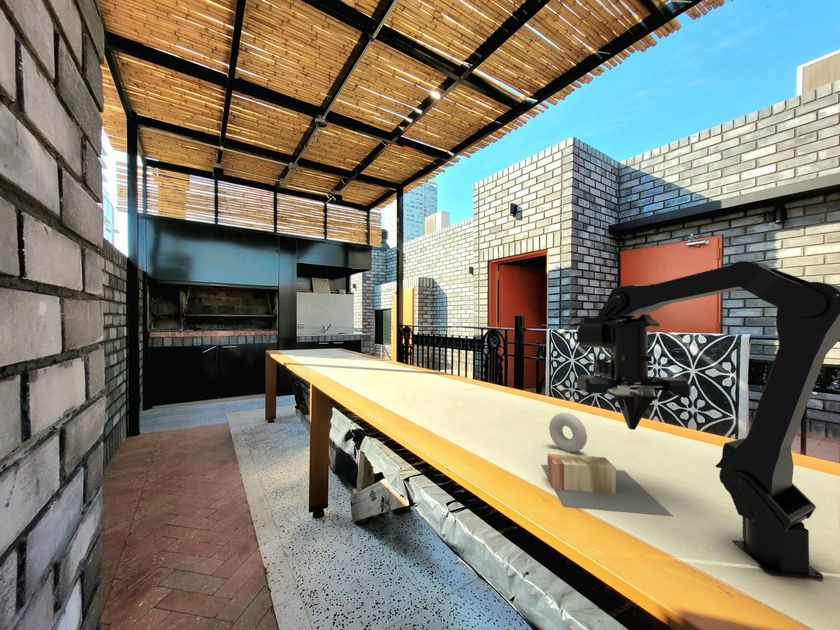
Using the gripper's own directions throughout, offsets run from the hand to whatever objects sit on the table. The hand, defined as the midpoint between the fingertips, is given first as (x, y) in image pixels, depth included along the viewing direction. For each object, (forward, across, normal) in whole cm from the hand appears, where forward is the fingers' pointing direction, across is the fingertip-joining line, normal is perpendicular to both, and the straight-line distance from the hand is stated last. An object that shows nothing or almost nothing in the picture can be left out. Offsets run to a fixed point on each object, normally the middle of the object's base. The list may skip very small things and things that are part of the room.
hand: (631, 429), depth 66 cm
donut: (+13, +6, -21) cm, 25 cm away
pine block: (+10, +4, -1) cm, 10 cm away
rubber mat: (+13, +6, -1) cm, 14 cm away
